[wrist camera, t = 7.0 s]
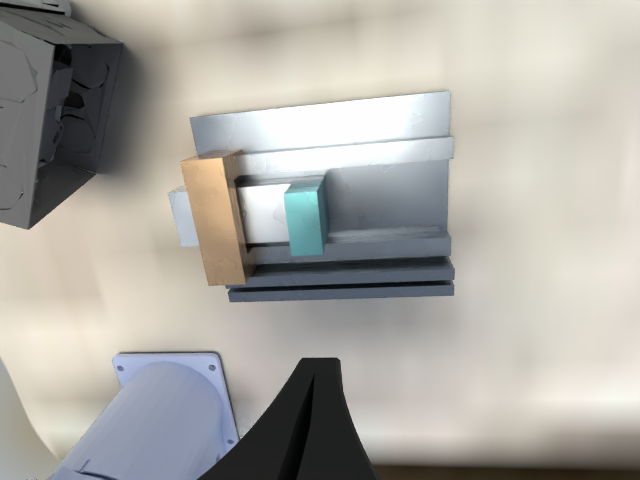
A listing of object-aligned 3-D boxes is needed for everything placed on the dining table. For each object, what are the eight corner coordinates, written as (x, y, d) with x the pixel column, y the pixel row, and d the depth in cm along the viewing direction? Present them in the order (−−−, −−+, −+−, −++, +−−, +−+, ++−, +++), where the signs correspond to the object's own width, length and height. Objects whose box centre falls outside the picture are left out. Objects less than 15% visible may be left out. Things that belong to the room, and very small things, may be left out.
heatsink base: (441, 271, 22) (458, 309, 18) (232, 279, 24) (206, 315, 20) (444, 91, 18) (466, 90, 15) (198, 116, 20) (160, 121, 16)
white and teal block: (329, 229, 20) (323, 254, 17) (193, 237, 22) (162, 262, 18) (324, 175, 19) (316, 191, 16) (180, 186, 20) (146, 203, 17)
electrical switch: (58, -9, 19) (-165, -78, 10) (157, 39, 20) (26, 11, 11) (35, 159, 22) (-145, 210, 14) (120, 194, 23) (-1, 262, 15)
